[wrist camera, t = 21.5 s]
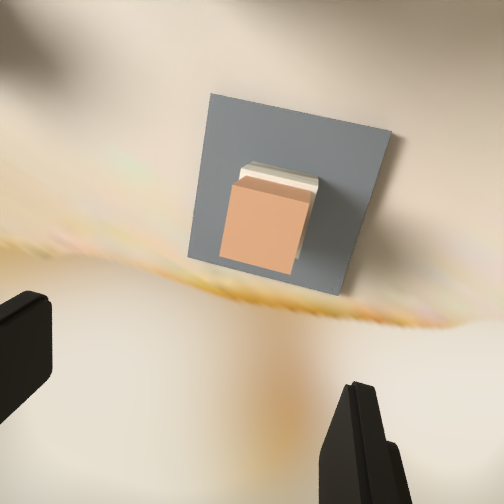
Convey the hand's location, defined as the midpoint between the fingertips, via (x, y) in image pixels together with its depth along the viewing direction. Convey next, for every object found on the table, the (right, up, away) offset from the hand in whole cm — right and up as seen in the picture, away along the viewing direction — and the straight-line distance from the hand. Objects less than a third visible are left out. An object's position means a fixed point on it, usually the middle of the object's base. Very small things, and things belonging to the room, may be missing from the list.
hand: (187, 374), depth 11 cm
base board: (+5, +9, +26) cm, 28 cm away
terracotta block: (+4, +7, +19) cm, 21 cm away
